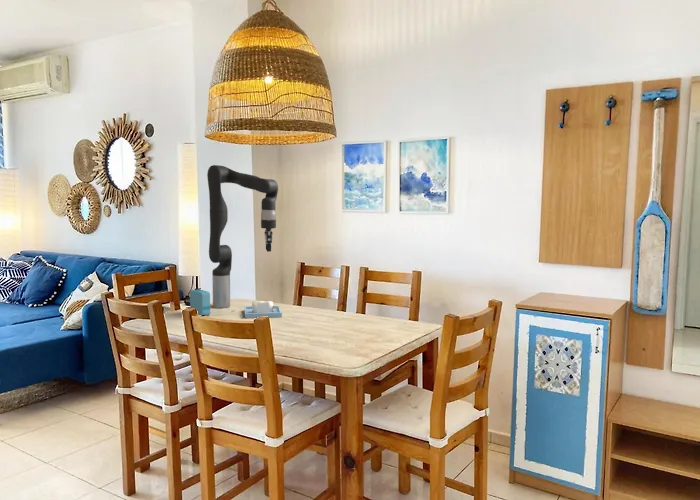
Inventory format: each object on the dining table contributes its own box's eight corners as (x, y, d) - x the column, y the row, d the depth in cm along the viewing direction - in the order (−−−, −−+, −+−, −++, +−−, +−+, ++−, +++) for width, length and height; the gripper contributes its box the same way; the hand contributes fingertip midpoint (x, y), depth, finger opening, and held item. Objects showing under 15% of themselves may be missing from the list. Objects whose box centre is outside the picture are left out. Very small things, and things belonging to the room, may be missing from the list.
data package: (210, 315, 271) (210, 292, 269) (202, 317, 267) (202, 293, 266) (198, 311, 279) (197, 288, 278) (190, 313, 276) (189, 289, 275)
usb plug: (252, 313, 273) (252, 303, 273) (252, 311, 278) (252, 301, 277) (277, 312, 276) (277, 302, 276) (277, 310, 280) (277, 301, 280)
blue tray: (244, 310, 284) (244, 306, 283) (279, 309, 287) (279, 305, 287) (245, 318, 266) (245, 313, 266) (281, 317, 270) (281, 312, 269)
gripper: (260, 218, 281) (260, 249, 283) (261, 219, 268) (261, 252, 269) (274, 218, 283) (274, 249, 285) (276, 219, 269) (276, 252, 271)
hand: (268, 250), depth 277 cm, fingers open, 8 cm apart
